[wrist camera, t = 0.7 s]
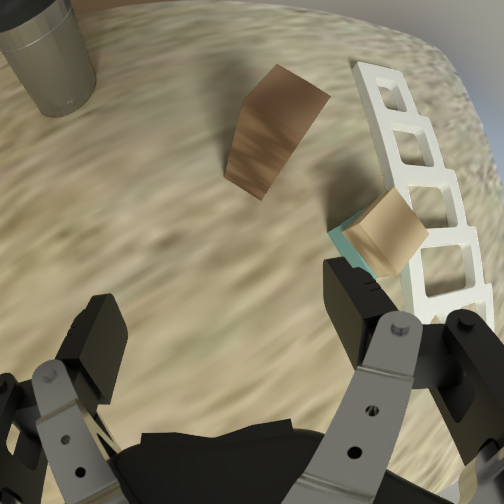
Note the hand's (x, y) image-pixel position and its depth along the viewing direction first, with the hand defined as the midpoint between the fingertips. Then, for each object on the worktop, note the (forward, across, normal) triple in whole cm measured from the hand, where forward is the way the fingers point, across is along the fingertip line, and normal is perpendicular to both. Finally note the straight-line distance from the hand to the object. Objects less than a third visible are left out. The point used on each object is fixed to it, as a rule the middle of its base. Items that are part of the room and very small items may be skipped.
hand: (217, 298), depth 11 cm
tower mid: (+19, -16, +9) cm, 27 cm away
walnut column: (+26, -4, +2) cm, 27 cm away
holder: (+28, -30, +9) cm, 42 cm away
